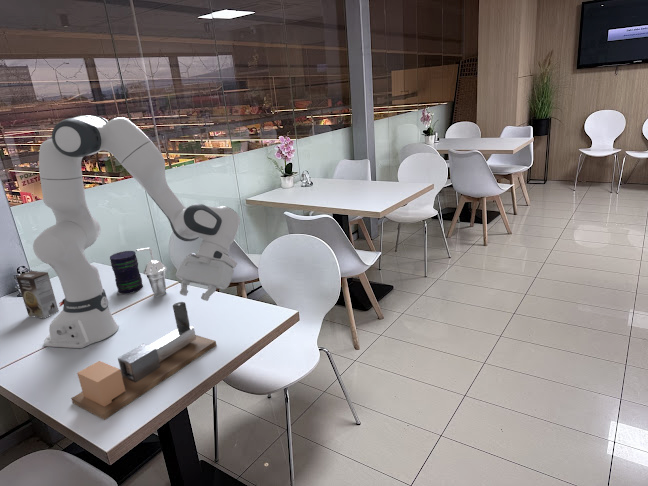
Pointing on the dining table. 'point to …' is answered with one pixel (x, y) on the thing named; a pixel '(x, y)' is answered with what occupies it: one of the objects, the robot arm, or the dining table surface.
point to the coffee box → (37, 293)
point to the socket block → (101, 383)
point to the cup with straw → (155, 275)
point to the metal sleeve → (139, 362)
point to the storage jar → (126, 272)
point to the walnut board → (147, 379)
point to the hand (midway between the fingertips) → (193, 297)
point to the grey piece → (174, 335)
